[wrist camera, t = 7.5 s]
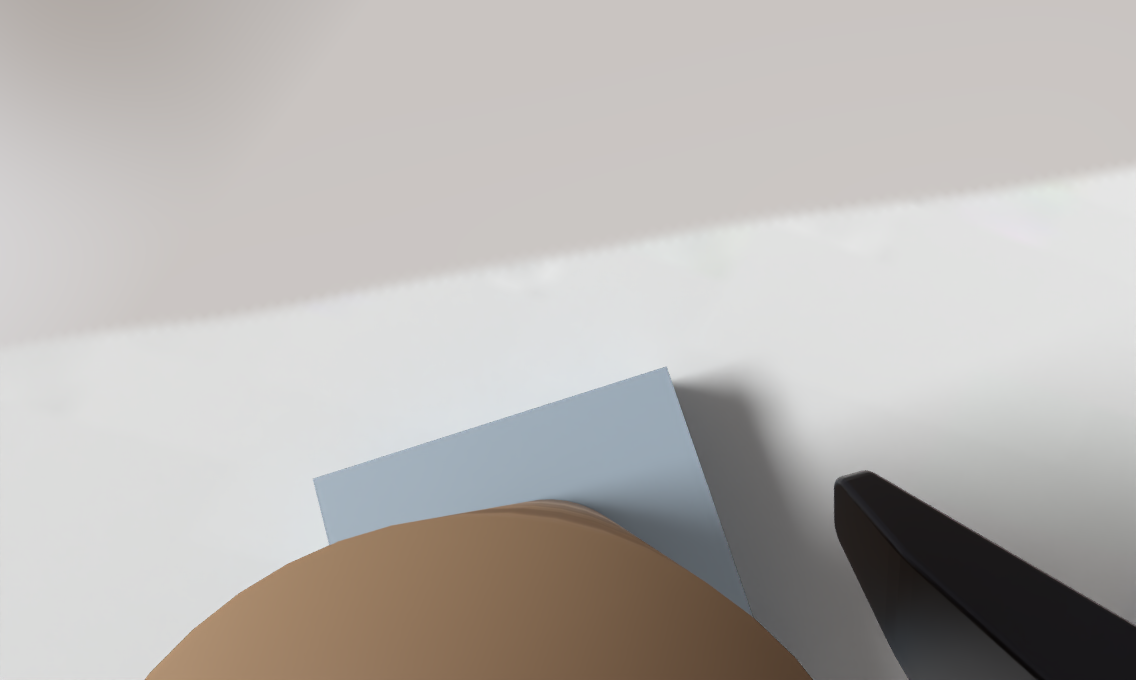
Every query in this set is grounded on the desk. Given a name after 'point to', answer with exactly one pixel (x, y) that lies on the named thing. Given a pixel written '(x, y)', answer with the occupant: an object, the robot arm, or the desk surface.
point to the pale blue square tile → (556, 475)
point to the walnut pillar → (483, 609)
